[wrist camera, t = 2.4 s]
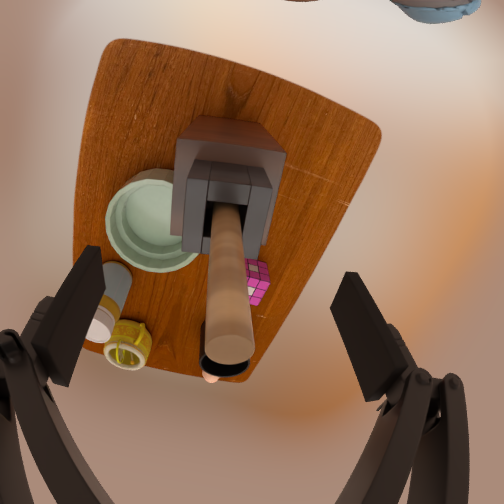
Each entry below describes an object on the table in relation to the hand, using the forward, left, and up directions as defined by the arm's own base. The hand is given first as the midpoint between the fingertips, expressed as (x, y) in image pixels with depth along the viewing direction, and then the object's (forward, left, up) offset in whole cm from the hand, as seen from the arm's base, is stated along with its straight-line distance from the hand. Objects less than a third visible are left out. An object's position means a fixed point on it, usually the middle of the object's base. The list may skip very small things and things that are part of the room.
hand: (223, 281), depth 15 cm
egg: (+52, +3, -32) cm, 61 cm away
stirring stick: (0, 0, -12) cm, 12 cm away
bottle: (+26, -18, -32) cm, 45 cm away
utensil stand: (0, 0, -31) cm, 32 cm away
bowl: (+12, -9, -31) cm, 35 cm away
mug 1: (+42, -16, -32) cm, 55 cm away
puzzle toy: (+22, +7, -32) cm, 39 cm away
